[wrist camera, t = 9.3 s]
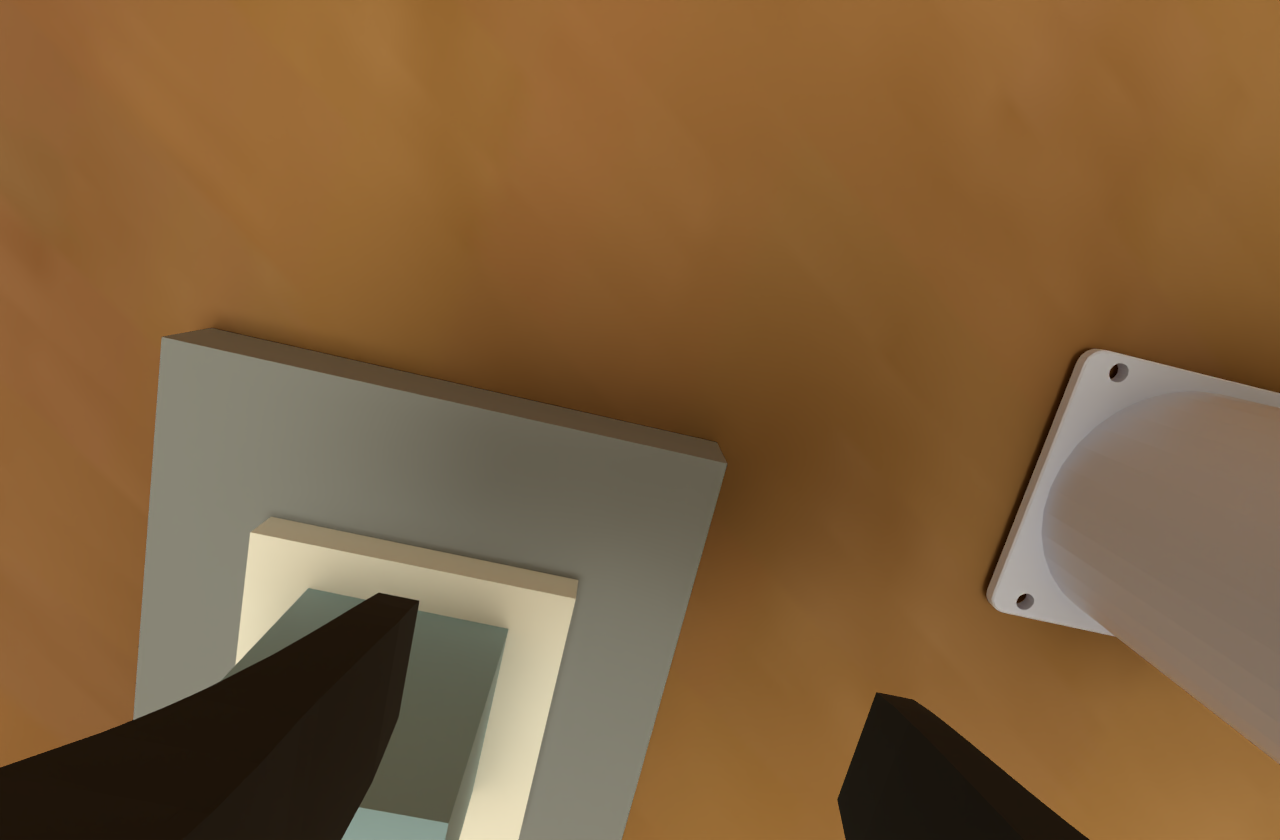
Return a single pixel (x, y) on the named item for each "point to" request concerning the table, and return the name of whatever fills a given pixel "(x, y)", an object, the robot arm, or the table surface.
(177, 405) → the base board
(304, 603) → the block
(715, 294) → the table surface
